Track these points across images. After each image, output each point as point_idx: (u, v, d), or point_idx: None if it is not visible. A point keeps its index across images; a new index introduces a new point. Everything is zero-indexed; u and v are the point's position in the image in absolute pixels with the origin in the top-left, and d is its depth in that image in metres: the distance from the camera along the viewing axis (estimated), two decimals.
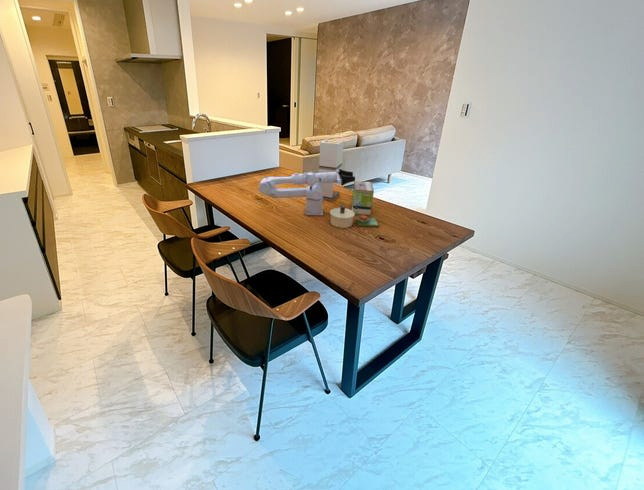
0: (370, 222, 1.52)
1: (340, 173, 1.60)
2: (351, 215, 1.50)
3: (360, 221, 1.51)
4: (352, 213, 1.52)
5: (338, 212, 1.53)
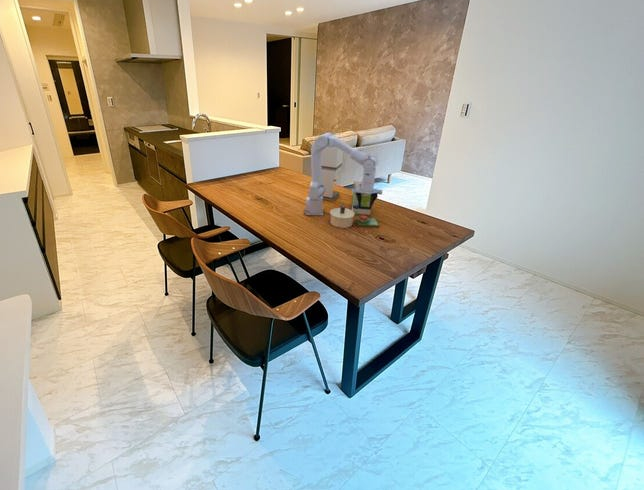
0: (370, 222, 1.52)
1: (372, 195, 1.47)
2: (351, 215, 1.50)
3: (360, 221, 1.51)
4: (352, 213, 1.52)
5: (338, 212, 1.53)
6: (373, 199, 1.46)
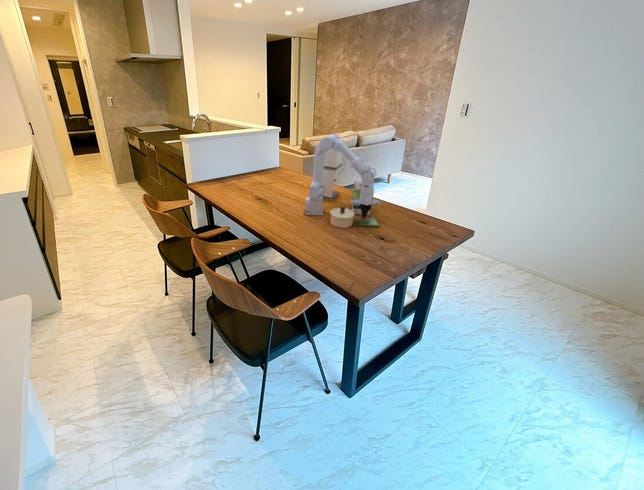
0: (370, 222, 1.52)
1: (365, 206, 1.49)
2: (351, 215, 1.50)
3: (360, 221, 1.51)
4: (352, 213, 1.52)
5: (338, 212, 1.53)
6: (367, 210, 1.49)
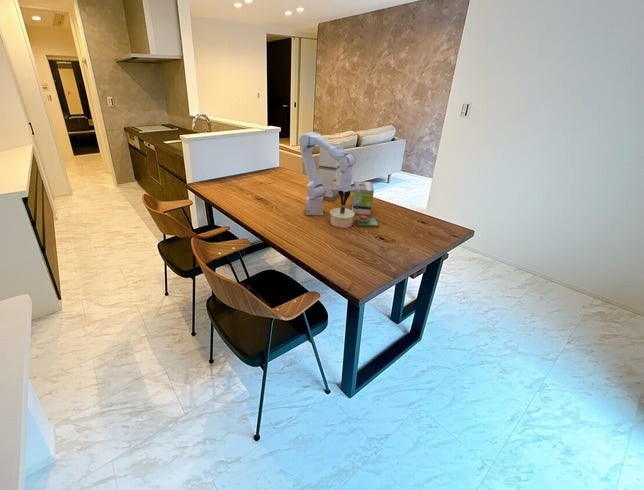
0: (370, 222, 1.52)
1: (345, 193, 1.48)
2: (351, 215, 1.50)
3: (360, 221, 1.51)
4: (352, 213, 1.52)
5: (338, 212, 1.53)
6: (346, 196, 1.47)
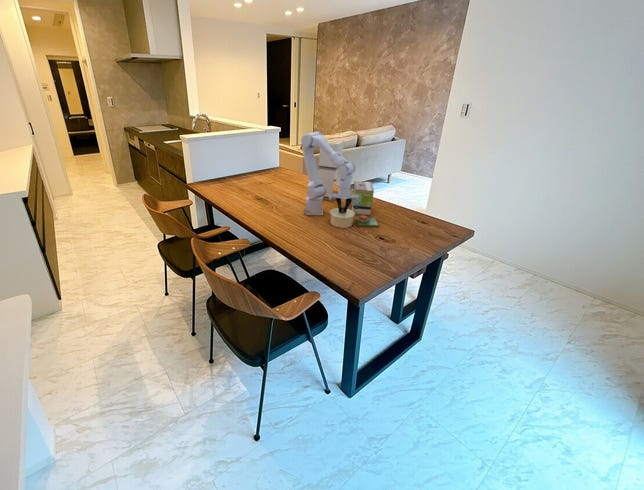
0: (370, 222, 1.52)
1: (346, 200, 1.49)
2: (351, 215, 1.50)
3: (360, 221, 1.51)
4: (352, 213, 1.52)
5: (338, 212, 1.53)
6: (347, 204, 1.49)
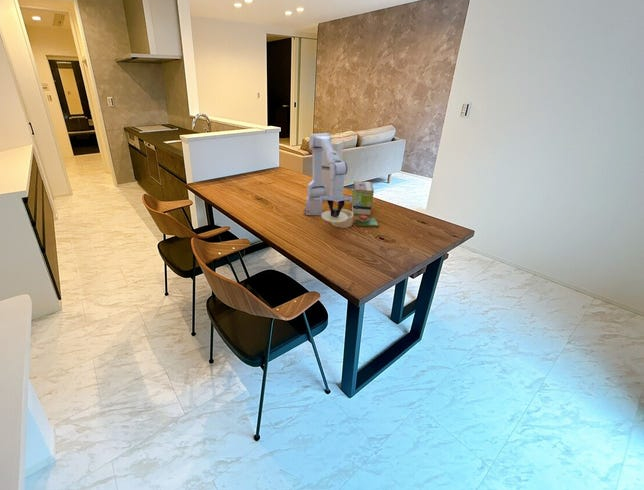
0: (370, 222, 1.52)
1: (339, 203, 1.37)
2: (344, 219, 1.38)
3: (360, 221, 1.51)
4: (345, 216, 1.40)
5: (330, 215, 1.41)
6: (340, 207, 1.37)
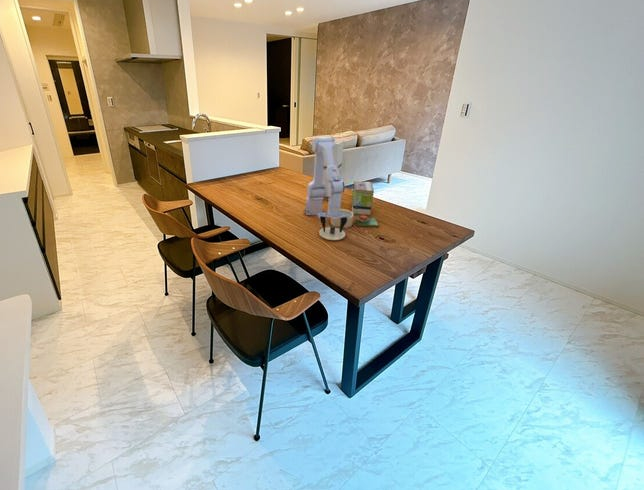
0: (370, 222, 1.52)
1: (341, 220, 1.39)
2: (341, 236, 1.40)
3: (360, 221, 1.51)
4: (343, 234, 1.42)
5: (328, 232, 1.44)
6: (342, 224, 1.39)
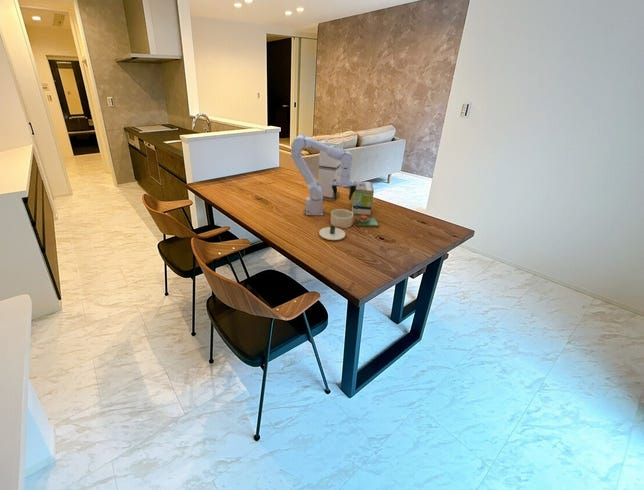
0: (370, 222, 1.52)
1: (350, 188, 1.57)
2: (341, 236, 1.40)
3: (360, 221, 1.51)
4: (343, 234, 1.42)
5: (328, 232, 1.44)
6: (352, 191, 1.56)
